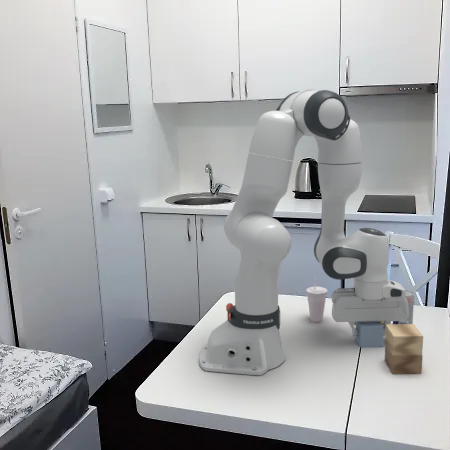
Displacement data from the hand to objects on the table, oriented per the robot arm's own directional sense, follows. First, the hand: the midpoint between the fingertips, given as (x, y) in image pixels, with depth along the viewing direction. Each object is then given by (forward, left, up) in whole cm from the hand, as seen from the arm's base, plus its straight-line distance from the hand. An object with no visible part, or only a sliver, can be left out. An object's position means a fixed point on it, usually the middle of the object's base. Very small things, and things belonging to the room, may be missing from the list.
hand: (368, 335), depth 142 cm
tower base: (+5, -14, -2) cm, 15 cm away
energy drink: (+11, +6, -2) cm, 13 cm away
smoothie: (-12, +16, -2) cm, 20 cm away
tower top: (+5, -14, +3) cm, 15 cm away
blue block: (0, 0, -2) cm, 2 cm away
